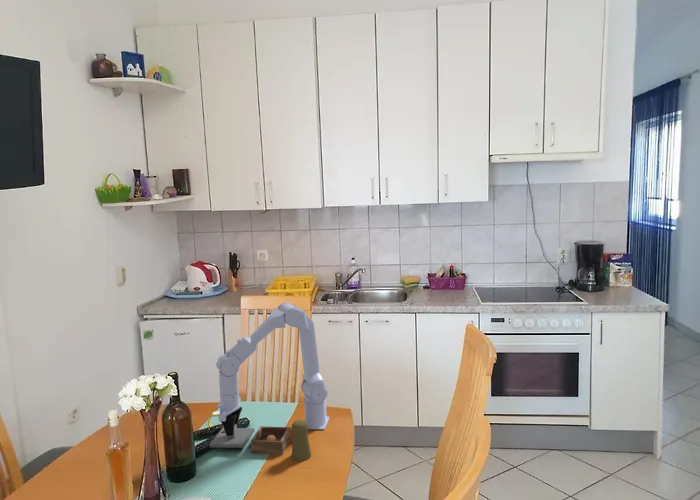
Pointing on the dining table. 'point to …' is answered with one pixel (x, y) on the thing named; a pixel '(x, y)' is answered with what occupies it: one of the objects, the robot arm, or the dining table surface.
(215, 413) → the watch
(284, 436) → the box
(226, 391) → the robot arm
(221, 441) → the lid
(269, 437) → the ball
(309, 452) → the olive tapered shaker
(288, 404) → the dining table surface
